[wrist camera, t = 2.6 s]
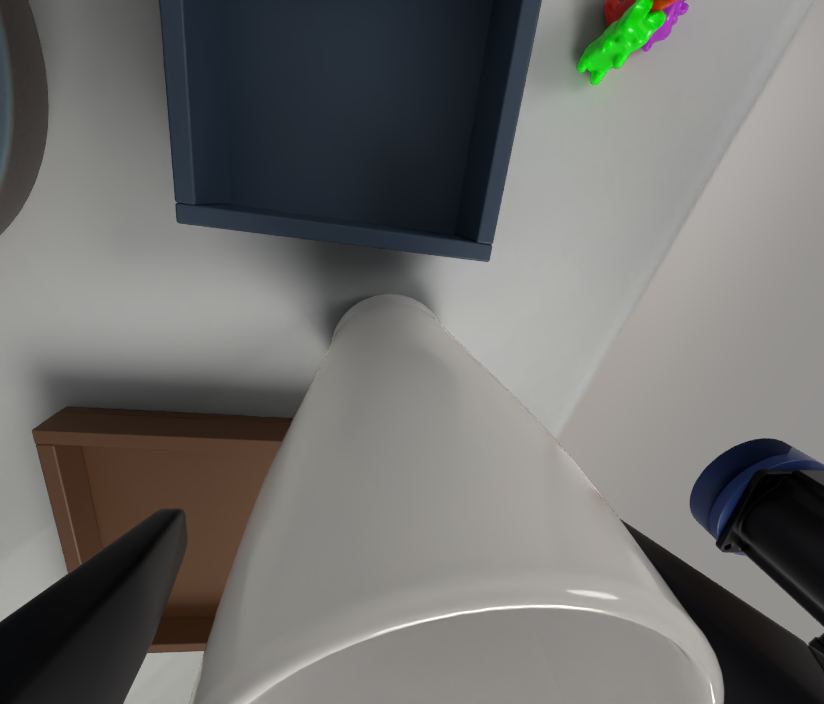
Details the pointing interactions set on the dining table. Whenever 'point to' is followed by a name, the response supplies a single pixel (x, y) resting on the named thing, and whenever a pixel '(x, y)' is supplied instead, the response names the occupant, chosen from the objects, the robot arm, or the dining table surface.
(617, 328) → the dining table surface
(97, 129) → the dining table surface
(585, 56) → the gummy bear
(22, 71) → the vase
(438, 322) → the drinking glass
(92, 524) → the tray
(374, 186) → the bin
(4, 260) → the dining table surface
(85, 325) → the dining table surface
